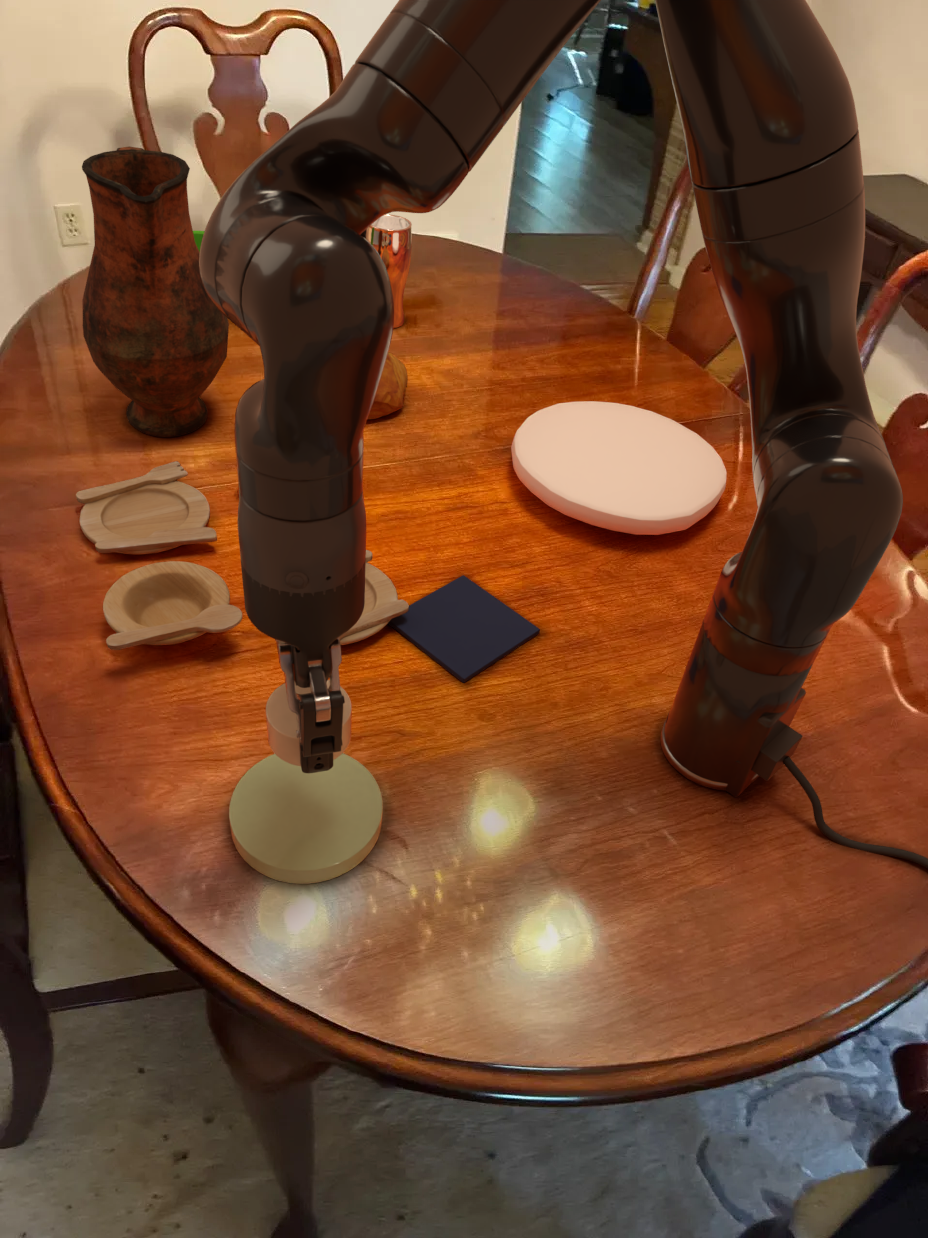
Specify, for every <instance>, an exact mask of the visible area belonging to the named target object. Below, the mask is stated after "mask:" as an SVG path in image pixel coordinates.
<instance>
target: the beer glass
mask: <svg viewBox="0 0 928 1238" xmlns="http://www.w3.org/2000/svg"><path fill="white" fill-rule="evenodd" d="M412 226H413V224H412V221H411V220H409V219H408V218H407V217H403V216H400V215H396V214H390V213H388V214H385V215H383V216H381V217H380V218H379V219H378V220H376V221H375V222H374V223H373V224H372V225H370V226H369V227H368V228H367V229H366V235H365V239H366V240H367V241H368V242H369V243H370V244H371V245H372V246H373V247H374V248H375V249H376V251H377V252H378V253H379V255H380V257H381V259H382V260H383V262H384V264H385V267H386V269H387V272H388V275H389V279H390V284H391V288H392V293H393V300H394V327H393V329H397V328H400V327H402V326H403V325H404V323H405V314H404V294H405V290H406V289H405V288H406V285H407V281H408V276H409V272H410V267H411V261H412V249H413V248H412V247H413V243H412V242H413V241H412V237H413V236H412V233H413V232H412Z"/></svg>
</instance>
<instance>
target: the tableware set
mask: <svg viewBox="0 0 928 1238" xmlns="http://www.w3.org/2000/svg"><path fill="white" fill-rule="evenodd" d="M187 476H189V473H188V470H186V469H185V468H184V467H183V466H181V463H180V462H179V461H178V460H175V461H171V462H168V463H166V464H165V463H164V464H162V465H159V466H156V467H153V468H152V469H150V470H149V471H148V472H147V473H146V474H144V475H141V476H136V477H133V478H129V479H125V480H121V481H116V482H113V483H109V484H104V485H100V486H95V487H90V488H86V489H82V490H79V491H77V492H76V493H75V498H76V501H77V502H78V503H79V504H84V505H83V507H82V508H81V510H80V514H79V525H80V529H81V531H82V533H83V534H84V536H85V537H86V538H87V540H89V542H91V543H92V544H94V546H95V550H96V552H98V553H99V554H100V553H101V554H110V553H118V554H124V555H125V554H126V555H148V554H149V555H150V554H157V553H158V554H159V553H162V552H165V551H169V550H172V549H175V548H178V547H180V546H185V545H194V544H195V545H196V544H197V545H198V544H205V543H214V542H217V541H218V534H217V531H216V530H215V529H214V528H213V527H209V526H207V524H208V523H209V520H210V517H211V508H210V507H211V506H210V503H209V501H208V499H207V497H206V496H205V495H204V494H203V493H202V492H201V491H200V490H199V489H197V488H196V487H194V486H193V485H190V484H187V483H185V482H182V481H179V480H180V479H182V478H185V477H187ZM373 557H374V555H373V552H372V551H371V550H368V549H366V565H365V604H364V609H363V612H362V615H361V617H360V618H359V620H358V621H357V623H356V624H355V625H354V626H353V627H352V628H351V629H350V630H348V631H347V632H346V633H344V634H343V635H341V636H340V637H339V640H340V646H344V645H349V644H353V643H357V642H360V641H363V640H365V639H368V638H370V637H372V636H374V635H375V634H377V633H379V632H380V631H381V630H383V629H384V628H385V627H386V626H387V625H389V624H388V622H389V621H390V620H391V619H392V618H395V617H397V616H400V615H402V614H405V613H406V612H408V610H409V605H410V604H409V603H408V602H407V601H406V600H404V599H399V598H398V597H399V596H398V592H397V588H396V586H395V584H394V582H393V581H392V580H391V578H389V576H388V575H386V574H385V572H383V571H382V570H381V569H380V568H378V567H376V566H375V565H373V564H371V563H370V562H371V561H372V560H373ZM230 593H231V592H230V589H229V587H228V584H227V583H226V581H225V580H224V579H223V578H222V576H221V575H220V574H218V573H217V572H216V571H214V570H212V569H210V568H208V567H206V566H203V565H201V564H198V563H194V562H189V561H182V560H180V561H179V560H168V561H159V562H154V563H149V564H146V565H143V566H140V567H137V568H135V569H133V570H130V571H129V572H127V573H125V574H124V575H122V576H120V577H119V578H118V579H117V580H115V582H114V583H112V585H111V586H110V587H109V589H108V590H107V591H106V593H105V596H104V598H103V602H102V603H103V604H102V610H103V615H104V619H105V620H106V623H107V624H108V626H109V627H110V628H111V629H112V630H113V631H114V632H115V633H112V634H110V635H109V636H107V638H106V640H105V643H106V646H107V649H109V650H112V651H119V650H123V649H128V648H132V647H137V646H141V645H148V646H149V645H150V646H167V645H168V646H169V645H178V644H181V643H185V642H187V641H192V640H194V639H196V638H198V637H200V636H203V635H205V634H206V633H211V634H212V633H213V634H218V633H223V632H227V631H230V630H232V629H233V628H235V627H237V626H238V625H239V624H240V623H241V622H242V620H243V611H242V610H241V609H240V607H238V606H236V605H233V604H230V602H231V594H230Z"/></svg>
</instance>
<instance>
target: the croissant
mask: <svg viewBox="0 0 928 1238" xmlns="http://www.w3.org/2000/svg"><path fill="white" fill-rule="evenodd" d="M408 376H409V375H408V370H407V367H406V365H405V364H404V362H403V361H401V360H400V359H399V358H398V357H397V356H395V355H394V354H393V353H392V352H390V351H388V354H387V358H386V361H385V365H384V368H383V371H382V375H381V378H380V381H379V385H378V388H377V392H376V395H375V398H374V402H373V405H372V407H371V410H370V413H369V416H368V418H367V420H375V419H380V418H381V417H384V416H388V415H390V414H392V413H394V412H396V411H399V410H401V409H402V408H404V407H405V405H404V404H403V403H404V396H405V392H406V390H407V388H408V380H409V378H408Z"/></svg>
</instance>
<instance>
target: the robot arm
mask: <svg viewBox="0 0 928 1238" xmlns="http://www.w3.org/2000/svg"><path fill="white" fill-rule="evenodd" d="M601 1H602V0H398V1H397V2H396V4H395V5H394V6H393V8H392V9H391V11H390V12H389V14H388V15H387V16H386V18H385V19H384V20H383V22H382V23H381V25H380V26H379V28H378V29H377V30H376V32H375V33H374V35H373V36H371V39H370V40H369V41H368V43H367V44H366V46H365V47H364V48H363V50H362V51H361V52H360V54H359V55H358V57H357V58H356V60H355V61H354V64H352V65H351V67H350V69H348V71H347V73H346V75H345V76H344V78H343V79H342V81H341V82H340V84H339V86H338V87H337V88H336V90H335V91H334V92H333V93H332V94H331V95H329V97H328V98H326V100H324V101H323V102H322V103H320V104H319V105H318V106H317V107H316V108H314V109H313V110H312V111H310V112H309V113H308V114H306V115H305V116H303V117H302V118H301V119H299V121H298V122H296V123H295V124H294V125H293V126H292V127H290V128H289V129H288V130H287V131H286V132H284V133H283V134H282V136H281V137H279V139H277V140H276V141H275V142H274V143H272V145H270V146H269V148H267V149H266V150H265V151H264V152H263V153H262V154H260V155H259V156H258V157H257V158H256V159H255V160H254V161H252V163H251V164H249V165H248V166H247V167H246V169H244V170H243V171H242V173H240V175H238V176H237V177H236V179H235V180H234V181H233V182H232V183H231V184H230V186H229V187H228V188H227V189H226V191H224V193H223V194H222V196H221V198H219V201H218V202H217V204H216V205H215V207H214V209H213V210H212V212H211V215H210V217H209V219H208V221H207V224H206V225H205V229H204V230H203V231H204V234H203V238H202V241H201V247H200V254H199V269H200V276H201V280H202V283H203V286H204V288H205V291H206V293H207V294H208V296H209V298H210V299H211V301H212V302H213V304H214V305H215V306H216V307H217V309H218V310H219V311H220V312H221V313H222V314H224V315H225V316H226V317H227V319H228V321H230V322H232V324H233V325H235V326H236V327H237V328H238V329H239V330H241V331H242V332H243V333H244V334H245V335H246V336H248V337H249V338H250V339H251V340H252V341H253V342H254V343H255V344H256V345H258V346H259V350H260V354H261V358H262V366H263V379H260V380H258V381H256V382H255V383H253V384H252V385H251V386H249V387H248V388H247V389H245V391H244V392H243V394H242V395H241V396H240V398H239V400H238V402H237V406H236V409H235V413H234V447H235V448H234V449H235V460H236V461H235V462H236V471H237V482H238V484H237V485H238V505H237V506H238V507H237V535H238V544H239V545H238V546H239V555H240V569H241V577H242V578H241V579H242V580H241V581H242V591H243V601H244V609H245V613H246V616H247V618H248V619H249V622H250V623H251V624H252V625H253V626H254V627H255V628H256V629H257V630H258V631H259V632H261V633H262V634H264V635H265V636H267V637H270V638H272V639H274V641H275V644H276V649H277V654H278V663H279V666H280V669H281V671H282V672H283V675H284V683H285V686H286V695H287V702H288V706H289V709H290V710H291V711H292V712H294V713H296V718H297V729H298V730H296V736H297V738H299V747H300V764H301V769H302V772H303V773H316V772H322V771H328V770H329V769H331V768H332V767H333V752H340V751H341V746H342V745H343V743H342V723H343V704H344V703H345V700H344V695H342V693H341V690H340V686H341V683H340V681H341V680H340V669H339V667H340V665H341V664H342V661H343V660H342V659H343V658H342V645H340V640H339V637H340V636H341V635H343V634H344V633H346V632H347V631H348V630H350V629H351V628H352V627H353V626H354V625H355V624H356V623H357V621H358V620H359V618H360V617H361V615H362V612H363V609H364V604H365V565H366V550H367V513H366V512H367V511H366V505H365V499H364V450H365V449H364V445H365V443H364V442H365V441H364V440H365V439H364V429H365V427H366V423H367V421H368V419H367V418H368V416H369V413H370V410H371V407H372V405H373V402H374V398H375V395H376V392H377V388H378V385H379V381H380V378H381V375H382V371H383V368H384V365H385V361H386V358H387V354H388V352H390V351H389V350H390V347H391V344H392V339H393V335H394V334H393V333H394V328H393V327H394V300H393V293H392V288H391V284H390V279H389V275H388V272H387V269H386V267H385V264H384V262H383V260H382V259H381V257H380V255H379V253H378V252H377V251H376V249H375V248H374V247H373V246H372V245H371V244H370V243H369V242H368V241H367V240H366V239H365V238H364V237H363V236H361V235H360V234H361V233H363V232H364V231H365V230H366V229H367V228H368V227H369V226H370V225H372V224H373V223H374V222H375V221H376V220H378V219H379V218H380V217H381V216H383V215H385V214H390V213H395V212H396V213H397V212H398V213H399V212H400V213H410V214H427V213H430V212H433V211H435V210H437V209H439V208H440V207H442V206H443V205H444V204H445V203H446V202H447V201H448V200H449V198H451V197H452V195H453V194H454V193H455V192H456V191H457V189H458V188H459V187H460V185H461V184H462V183H463V182H464V180H465V179H466V177H467V176H468V174H469V173H470V172H471V171H472V170H473V168H474V167H475V166H476V165H477V163H478V162H479V160H480V159H482V156H483V155H484V154H485V153H486V151H487V150H488V148H489V147H490V146H491V145H492V143H493V142H494V140H495V139H496V138H497V136H499V134H500V132H501V131H502V130H503V128H504V127H505V125H506V124H507V123H508V121H509V120H510V118H512V116H513V115H514V113H515V112H516V111H517V109H518V108H519V107H520V105H521V104H522V103H523V101H524V100H525V98H526V97H527V96H528V95H529V93H530V92H531V90H532V89H533V87H535V85H536V83H537V82H538V81H539V80H540V78H541V77H542V76H543V74H544V73H545V71H546V70H547V69H548V68H549V66H550V65H551V64H552V62H553V61H554V60H555V59H556V57H557V56H558V54H559V53H560V52H561V51H562V49H563V48H564V47H565V45H566V44H567V43H568V41H570V39H571V37H572V36H573V35H574V34H575V33H576V31H577V30H578V29H579V28H580V26H582V24H583V23H584V22H585V21H586V19H587V18H588V17H589V15H590V14H591V13H592V12H593V11H594V9H596V7H597V6H598V5H599V4H600V2H601ZM654 3H655V6H656V11H657V17H658V22H659V27H660V31H661V37H662V41H663V46H664V52H665V56H666V60H667V64H668V70H669V74H670V78H671V83H672V87H673V91H674V96H675V100H676V105H677V108H678V114H679V118H680V122H681V127H682V132H683V139H684V145H685V151H686V157H687V165H688V169H689V175H690V181H691V185H692V191H693V195H694V201H695V206H696V210H697V215H698V220H699V225H700V230H701V234H702V239H703V243H704V248H705V251H706V254H707V258H708V262H709V266H710V267H711V269H710V270H711V272H712V276H713V278H714V281H715V284H716V288H717V290H718V293H719V295H720V299H721V301H722V304H723V306H724V309H725V311H726V314H727V316H728V319H729V321H730V323H731V326H732V328H733V331H734V334H735V336H736V338H737V340H738V344H739V346H740V349H741V352H742V358H743V361H744V367H745V375H746V381H747V390H748V401H749V413H750V428H751V449H752V452H751V453H752V454H751V456H752V457H751V470H752V482H753V488H754V494H755V500H756V506H757V511H756V514H755V517H754V521H753V524H752V526H751V529H750V531H749V534H748V536H747V539H746V541H745V544H744V546H743V548H742V551H740V552H737V553H735V554H734V555H733V556H731V557H729V559H728V560H727V561H726V562H725V563H724V565H723V567H722V569H721V571H720V574H719V576H718V580H717V582H716V585H715V588H714V590H713V593H712V595H711V598H710V601H709V603H708V607H707V608H706V612H705V615H704V618H703V620H702V623H701V626H700V627H699V631H698V632H697V633H698V634H697V636H696V639H695V641H694V644H693V647H692V650H691V653H690V655H689V658H688V661H687V664H686V665H685V669H684V672H683V674H682V677H681V679H680V681H679V685H678V688H677V690H676V693H675V696H674V699H673V701H672V704H671V707H670V710H669V712H668V713H667V716H666V719H665V720H664V723H663V725H662V728H661V732H660V739H659V740H660V747H661V751H662V753H663V755H664V757H665V758H666V760H667V762H668V763H669V764H670V765H671V766H672V767H673V768H674V769H675V771H677V772H678V773H679V774H680V775H681V776H683V777H685V778H686V779H688V780H689V781H691V782H692V783H694V784H697V785H699V786H702V787H705V788H708V789H713V790H719V791H725V792H727V793H728V794H730V795H731V796H733V797H735V798H736V797H739V796H740V795H741V794H742V793H743V792H744V791H745V790H746V789H747V788H748V787H749V786H750V785H751V784H752V783H754V782H755V781H756V780H757V779H758V778H759V777H761V779H763V780H765V781H766V782H768V781H769V780H770V779H771V778H772V777H773V776H774V775H775V774H776V773H777V772H778V771H779V770H780V769H781V768H782V767H783V766H785V767H786V770H788V772H790V775H792V776H793V777H794V779H795V780H796V781H797V783H798V784H799V786H800V787H801V788H802V789H803V791H804V793H805V794H806V796H807V797H808V799H809V801H810V802H811V806H812V811H813V812H812V813H813V819H814V823H815V825H816V827H817V829H818V830H819V831H820V833H822V834H823V835H824V836H825V837H827V838H828V839H829V840H831V841H833V842H834V843H837V844H839V845H841V846H844V847H846V848H851V849H855V850H859V851H863V852H867V853H871V854H877V855H881V856H882V855H883V856H888V857H894V858H899V859H903V860H907V861H910V862H913V863H915V864H918V865H920V866H922V867H924V868H926V869H928V857H926V856H924V855H921V854H919V853H916V852H913V851H909V850H906V849H903V848H898V847H893V846H892V847H891V846H885V845H879V844H872V843H866V842H862V841H857V840H853V839H850V838H848V837H845V836H843V835H841V834H840V833H838V832H836V831H834V829H832V828H831V827H830V826H829V825H828V824H827V823H826V821H825V819H824V815H823V814H824V813H823V807H822V803H821V800H820V798H819V797H820V796H819V795H818V794H817V791H816V790H815V789H814V787H813V786H812V784H811V783H810V781H809V779H808V778H807V777H806V776H805V775H804V773H803V772H802V771H801V770H800V768H799V767H798V765H796V763H795V762H794V760H793V759H792V756H793V755H794V754H795V752H796V750H797V748H798V746H799V744H800V743H801V740H802V739H803V736H804V735H802V734H801V733H800V732H798V731H797V730H795V729H794V728H792V727H791V725H792V722H793V720H794V718H795V717H796V714H797V712H798V710H799V709H800V706H801V705H802V702H803V701H804V699H805V696H806V693H807V690H806V689H805V688H803V686H804V684H805V681H806V679H807V678H808V675H809V674H810V671H811V669H812V668H813V665H814V663H815V661H816V659H817V658H818V655H819V653H820V651H821V649H822V647H823V645H824V643H825V641H826V639H827V637H828V635H829V633H830V632H831V630H832V627H833V626H834V624H836V623H837V622H838V621H840V620H841V619H842V618H844V617H845V616H846V615H847V614H848V613H849V612H850V611H851V610H852V609H853V608H854V606H855V605H856V603H857V601H858V600H859V598H860V596H861V595H862V593H863V591H864V589H865V588H866V586H867V584H868V582H869V580H870V579H871V577H872V575H873V574H874V572H875V570H876V568H877V567H878V565H879V563H880V562H881V560H882V558H883V557H884V555H885V552H886V551H887V549H888V547H889V545H890V543H891V541H892V539H893V538H894V535H895V532H896V530H897V528H898V526H899V522H900V519H901V515H902V512H903V504H904V494H903V489H902V486H901V482H900V479H899V477H898V475H897V471H896V469H895V466H894V464H893V461H892V459H891V456H890V454H889V450H888V448H887V445H886V443H885V440H884V437H883V435H882V434H883V433H882V432H881V430H880V427H879V425H878V423H877V421H876V417H875V414H874V410H873V407H872V404H871V399H870V396H869V392H868V388H867V385H866V379H865V375H864V374H865V373H864V370H863V365H862V359H861V355H860V349H859V343H858V334H857V333H858V331H857V309H858V307H857V306H858V298H859V294H860V293H859V292H860V286H861V285H860V284H861V278H862V270H863V263H864V255H865V254H864V252H865V241H866V194H865V192H866V191H865V182H864V181H865V180H864V171H863V160H862V150H861V149H862V148H861V141H860V140H861V139H860V130H859V121H858V117H857V109H856V104H855V103H856V102H855V99H854V95H853V91H852V88H851V83H850V81H849V79H848V78H849V77H848V76H847V73H846V71H845V69H844V66H843V65H842V63H841V60H840V58H839V55H838V54H837V52H836V50H835V49H834V47H833V45H832V43H831V41H830V40H829V38H828V35H827V34H826V32H825V30H824V29H823V27H822V26H821V24H820V22H819V21H818V19H817V17H816V16H815V14H814V12H813V10H812V8H811V7H810V5H809V3H808V2H807V0H654ZM327 680H330V686H329V688H327V683H326V682H327ZM294 681H295V683H294ZM295 684H296V686H297V685H298V686H299V687H301V688H308V687H310V690H311V693H307V694H297V693H296V692H295Z"/></svg>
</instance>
